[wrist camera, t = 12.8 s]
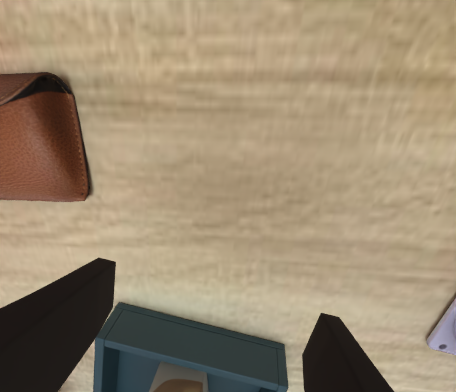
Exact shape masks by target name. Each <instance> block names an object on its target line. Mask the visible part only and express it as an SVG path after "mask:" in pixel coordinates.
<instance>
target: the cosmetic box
mask: <svg viewBox="0 0 456 392" xmlns="http://www.w3.org/2000/svg"><path fill="white" fill-rule="evenodd" d="M149 392H208V379H207V373H206V372H202V371H198V370H194V369H190V368H186V367H183V366H179V365H175V364H171V363H167V362H163V361H161V362H160V364H159V367H158V369H157V372H156V375H155V377H154V380H153V383H152V385H151V388H150V390H149Z"/></svg>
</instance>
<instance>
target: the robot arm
mask: <svg viewBox="0 0 456 392" xmlns="http://www.w3.org/2000/svg"><path fill="white" fill-rule="evenodd" d="M115 266H116V262H114V261H110V260H106V259H102V258H97V259H95V260H93V261H92V262H90V263H88V264H86V265H84V266H82V267H80V268H79V269H77V270H75V271H73V272H71V273H69V274H68V275H66V276H64V277H62V278H60V279H58V280H56V281H54V282H53V283H51V284H49V285H47V286H45V287H43V288H41V289H39V290H37V291H35V292H33V293H31V294H29V295H27V296H25V297H23V298H21V299H19V300H17V301H15V302H13V303H11V304H9V305H7V306H4V307H2V308H0V392H58V391H59V389H60V388H61V386H62V385H63V384H64V382H65V381H66V379H67V378H68V376H69V375H70V374H71V372H72V371H73V369H74V368H75V367H76V365H77V364H78V362H79V361H80V360H81V358H82V357H83V355H84V354H85V352H86V351H87V350H88V348H89V347H90V345H91V344H92V342H93V341H94V339H95V338H96V336H97V335H98V333H99V331H100V330H101V328H102V326H103V324H104V323H105V321H106V319H107V317H108V315H109V313H110V311H111V310H112V308H113V299H114V282H115ZM426 342H427V344H428V346H429V347H430V348H431V349H434V350H438V351H442V352H446V353H450V354H454V355H456V298H455V300H454V301H453V302H452V304H451V305H450V307H449V308H448V310H447V311H446V313H445V314H444V316H443V317H442V319H441V320H440V321H439V323H438V324H437V326H436V327H435V329H434V330H433V332H432V333H431V335H430V336H429V337H428V339H427V341H426ZM302 358H303V378H304V390H305V392H394V391H393V390H392V388H391V387H390V386H389V384H388V383H387V382H386V380H385V379H384V378H383V376H382V375H381V374H380V372H379V371H378V370H377V368H376V367H375V366H374V364H373V363H372V362H371V360H370V359H369V358H368V356H367V355H366V353H365V352H364V351H363V349H362V348H361V347H360V345H359V344H358V342H357V341H356V340H355V338H354V337H353V335H352V334H351V333H350V331H349V330H348V329H347V327H346V326H345V325H344V323H343V322H342V321H341V319H340V318H339V317H336V316H332V315H328V314H324V313H321V314H320V316H319V319H318V321H317V323H316V325H315V328H314V330H313V332H312V334H311V336H310V339H309V341H308V343H307V345H306V348H305V350H304V352H303V354H302Z"/></svg>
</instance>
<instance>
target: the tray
mask: <svg viewBox="0 0 456 392" xmlns="http://www.w3.org/2000/svg"><path fill="white" fill-rule="evenodd" d="M161 361H163V362H167V363H171V364H175V365H179V366H183V367H186V368H190V369H194V370H198V371H202V372H206V373H207V379H208V392H287V390H288V378H287V367H286V357H285V346H284V344H281V343H277V342H273V341H269V340H265V339H261V338H257V337H253V336H249V335H246V334H242V333H238V332H234V331H230V330H226V329H222V328H218V327H214V326H210V325H206V324H202V323H198V322H195V321H191V320H187V319H183V318H179V317H175V316H171V315H167V314H163V313H159V312H155V311H151V310H148V309H144V308H140V307H136V306H132V305H128V304H124V303H120V302H119V303H118V304H117V306H116V308H115V309H114V311H113V312H112V313H111V315H110V316H109V318H108V319H107V321H106V322H105V324H104V325H103V327H102V328H101V330H100V331H99V333H98V335H97V336H96V338H95V361H94V387H93V392H149V390H150V388H151V385H152V383H153V380H154V377H155V375H156V372H157V369H158V367H159V364H160V362H161Z"/></svg>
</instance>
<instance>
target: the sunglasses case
mask: <svg viewBox="0 0 456 392" xmlns="http://www.w3.org/2000/svg"><path fill="white" fill-rule="evenodd" d="M89 189H90V186H89V178H88V169H87V161H86V155H85V149H84V144H83V139H82V133H81V128H80V122H79V118H78V113H77V108H76V104H75V98H74V96H73V94H72V93H71V91H70V89H69V88H68V86H67V85H66V84H65V83H64V82H63V81H62V80H61V79H60V78H59V77H58V76H56V75H54V74H52V73H48V72H41V73H22V74H2V75H0V200H31V201H54V202H59V201H62V202H73V201H85V200H86V198H87V196H88V194H89Z"/></svg>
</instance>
